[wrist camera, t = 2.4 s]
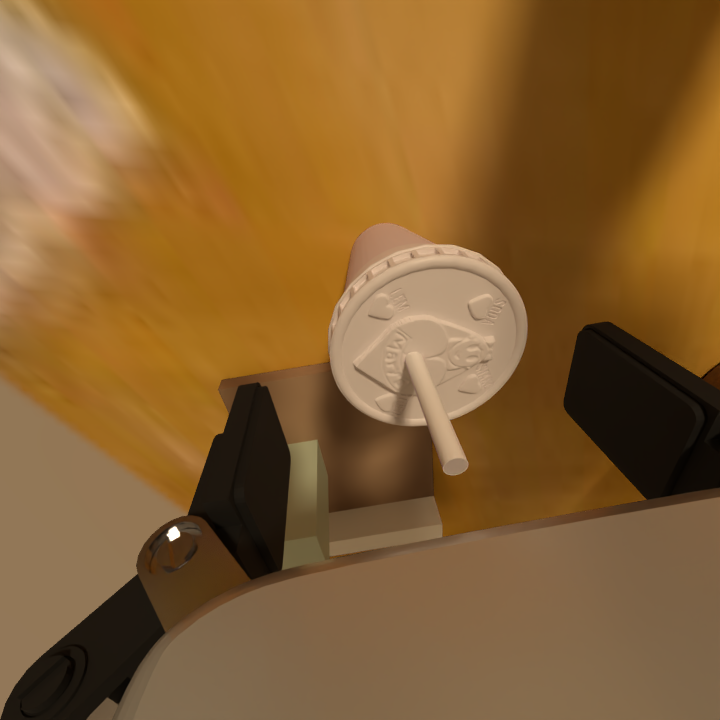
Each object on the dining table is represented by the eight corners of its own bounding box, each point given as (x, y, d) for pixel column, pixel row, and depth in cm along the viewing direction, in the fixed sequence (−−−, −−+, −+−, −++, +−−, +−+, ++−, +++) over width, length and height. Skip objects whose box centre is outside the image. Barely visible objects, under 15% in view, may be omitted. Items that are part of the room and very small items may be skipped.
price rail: (430, 485, 30) (442, 523, 27) (431, 500, 32) (442, 539, 29) (279, 510, 30) (275, 551, 27) (285, 524, 32) (282, 565, 29)
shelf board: (425, 346, 23) (429, 355, 22) (431, 499, 32) (434, 510, 31) (222, 379, 23) (218, 389, 22) (285, 523, 32) (284, 534, 31)
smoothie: (316, 201, 17) (308, 355, 6) (446, 187, 18) (690, 310, 6) (332, 318, 21) (347, 561, 9) (440, 306, 21) (586, 528, 10)
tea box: (317, 439, 25) (316, 536, 19) (328, 477, 27) (330, 574, 21) (246, 451, 25) (223, 551, 19) (263, 488, 27) (247, 587, 21)
